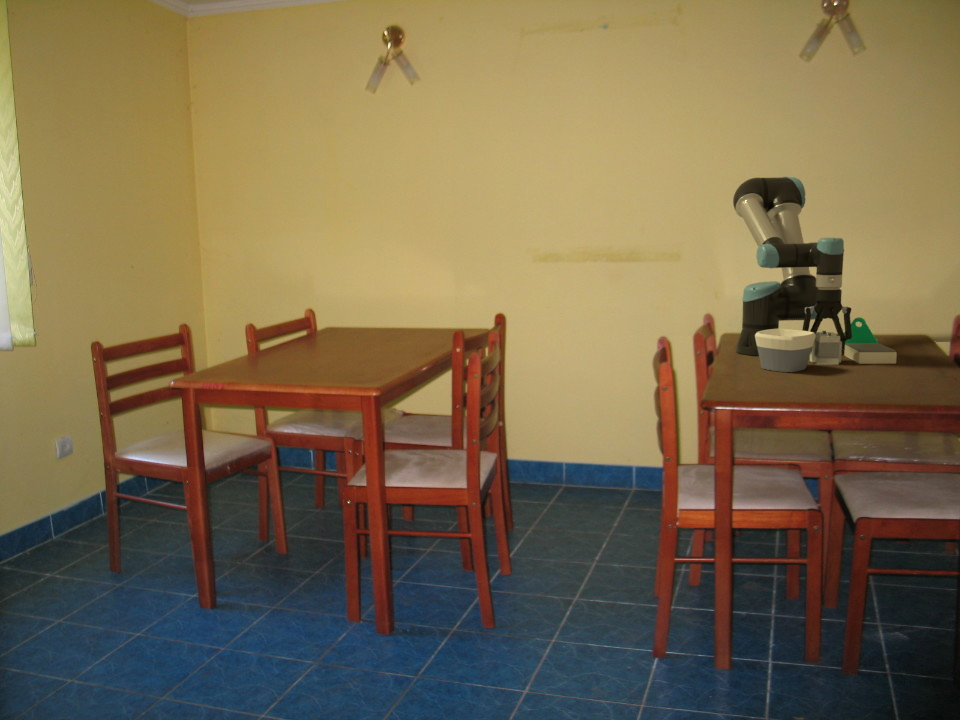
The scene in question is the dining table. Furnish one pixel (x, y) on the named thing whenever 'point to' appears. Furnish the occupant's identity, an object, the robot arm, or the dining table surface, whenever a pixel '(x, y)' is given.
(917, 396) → the dining table surface
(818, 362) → the housing
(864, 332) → the camera mount
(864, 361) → the plinth
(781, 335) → the bowl
